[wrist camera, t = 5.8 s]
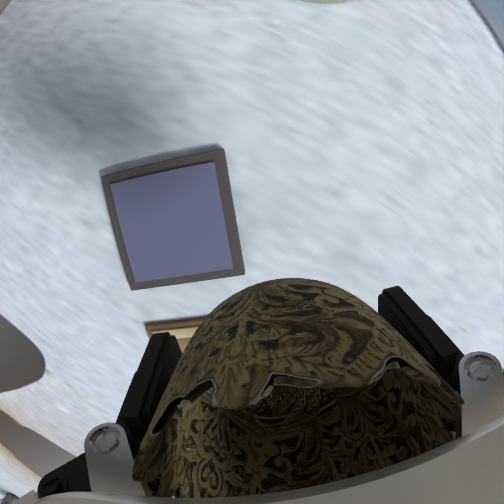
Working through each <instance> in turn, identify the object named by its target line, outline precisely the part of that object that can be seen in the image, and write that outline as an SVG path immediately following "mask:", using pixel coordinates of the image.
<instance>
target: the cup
mask: <svg viewBox="0 0 504 504" xmlns="http://www.w3.org/2000/svg"><path fill="white" fill-rule="evenodd" d="M460 404H461V405H465V402H464V400H463V398H462V397H461V396H460V394H459V393H458V392H457V391H456V390H455V389H454V388H453V387H452V386H451V385H450V384H449V383H448V382H447V381H446V380H445V379H444V378H443V377H442V376H441V375H440V374H438V372H437V371H436V370H435V369H434V368H433V367H432V366H431V365H430V364H429V363H428V362H427V361H426V360H425V359H424V358H423V357H422V356H421V355H420V354H419V353H418V352H417V350H416V349H415V348H414V347H413V346H412V345H411V344H410V343H409V342H408V341H407V340H406V339H405V338H404V337H403V336H401V335H400V334H399V333H398V332H397V331H396V330H395V329H394V328H393V327H392V326H391V325H390V324H389V323H388V322H387V321H386V320H385V319H384V318H383V317H382V316H381V315H379V314H378V313H377V312H376V311H375V310H374V309H373V308H371V307H370V306H369V305H367V304H366V303H365V302H363V301H362V300H360V299H359V298H357V297H356V296H354V295H353V294H351V293H349V292H347V291H345V290H343V289H341V288H339V287H337V286H334V285H332V284H329V283H325V282H321V281H317V280H310V279H303V278H284V279H276V280H270V281H266V282H262V283H258V284H255V285H253V286H250V287H248V288H245V289H243V290H241V291H240V292H238V293H236V294H234V295H232V296H231V297H229V298H228V299H226V300H225V301H223V302H222V303H221V304H220V305H218V306H217V307H216V308H215V309H214V310H213V311H212V312H211V313H210V314H209V315H208V316H207V317H206V318H205V319H204V321H203V322H202V323H201V324H200V326H199V327H198V328H197V330H196V331H195V333H194V334H193V336H192V337H191V339H190V341H189V342H188V344H187V346H186V348H185V350H184V352H183V353H182V355H181V357H180V359H179V361H178V363H177V365H176V367H175V370H174V372H173V374H172V376H171V378H170V380H169V382H168V385H167V387H166V389H165V391H164V393H163V396H162V398H161V400H160V402H159V405H158V407H157V409H156V411H155V414H154V416H153V418H152V421H151V423H150V425H149V428H148V430H147V432H146V434H145V436H144V438H143V440H142V442H141V445H140V448H139V451H138V454H137V456H136V458H135V461H134V464H133V469H132V480H135V479H136V478H137V477H138V476H139V477H141V478H142V479H144V480H146V481H147V483H150V482H152V481H153V487H152V490H151V494H152V496H153V497H167V498H172V497H173V496H174V498H221V497H238V496H250V495H260V494H269V493H276V492H283V491H290V490H296V489H302V488H307V487H312V486H317V485H322V484H327V483H331V482H335V481H340V480H344V479H348V478H351V477H355V476H359V475H362V474H366V473H369V472H372V471H376V470H379V469H382V468H385V467H388V466H391V465H394V464H397V463H400V462H402V461H405V460H408V459H410V458H413V457H416V456H418V455H421V454H423V453H426V452H428V451H430V450H433V449H435V448H437V447H440V446H442V445H444V444H446V443H449V442H451V441H453V440H455V439H456V429H455V428H454V427H453V426H452V424H451V421H452V419H453V420H454V421H456V420H457V419H458V417H459V416H460V414H461V410H462V407H461V405H460Z"/></svg>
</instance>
